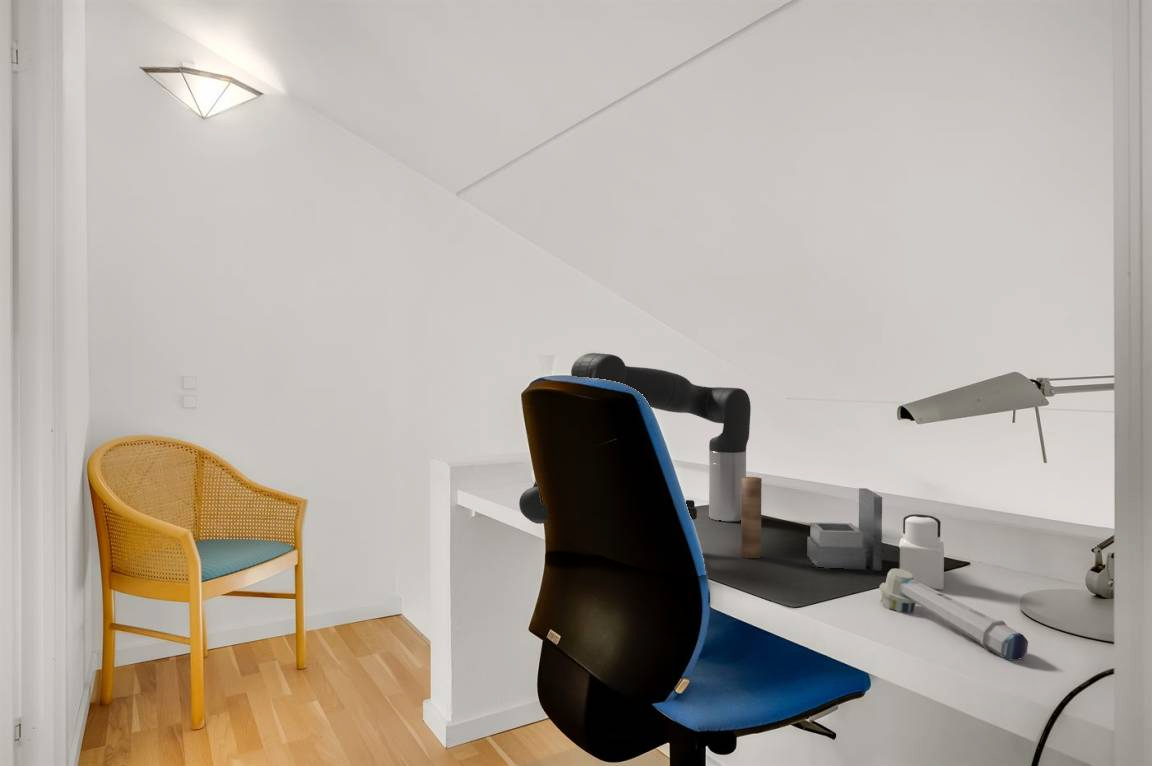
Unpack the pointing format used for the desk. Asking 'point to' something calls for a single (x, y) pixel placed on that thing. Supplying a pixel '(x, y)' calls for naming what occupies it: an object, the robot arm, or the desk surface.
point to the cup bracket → (850, 538)
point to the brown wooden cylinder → (751, 517)
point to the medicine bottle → (922, 550)
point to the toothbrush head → (952, 614)
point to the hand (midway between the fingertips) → (695, 509)
